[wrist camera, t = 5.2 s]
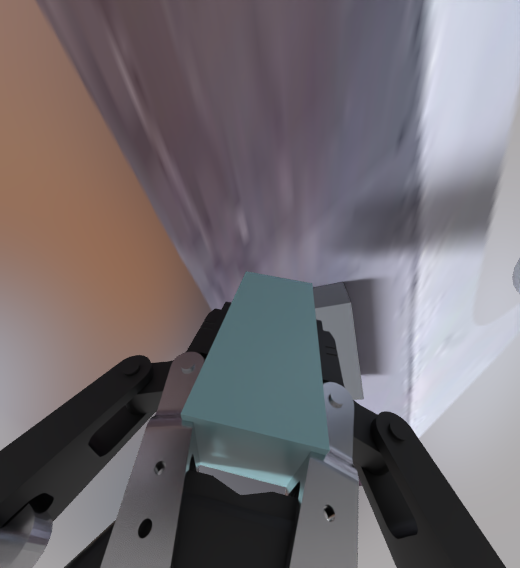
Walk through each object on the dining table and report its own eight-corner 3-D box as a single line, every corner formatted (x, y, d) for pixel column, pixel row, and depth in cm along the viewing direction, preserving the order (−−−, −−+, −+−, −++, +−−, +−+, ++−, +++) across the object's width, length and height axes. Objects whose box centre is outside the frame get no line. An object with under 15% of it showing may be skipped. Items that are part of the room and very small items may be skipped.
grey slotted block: (246, 300, 24) (240, 320, 21) (343, 281, 21) (351, 302, 18) (282, 379, 31) (280, 401, 29) (356, 374, 28) (363, 399, 25)
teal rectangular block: (312, 283, 12) (329, 450, 5) (297, 330, 14) (296, 489, 7) (246, 271, 12) (180, 414, 5) (242, 319, 14) (192, 462, 8)
